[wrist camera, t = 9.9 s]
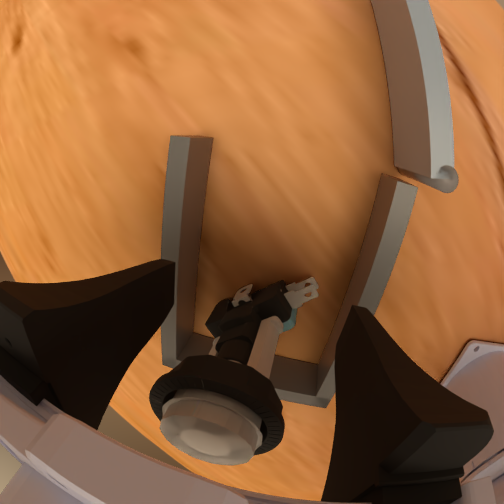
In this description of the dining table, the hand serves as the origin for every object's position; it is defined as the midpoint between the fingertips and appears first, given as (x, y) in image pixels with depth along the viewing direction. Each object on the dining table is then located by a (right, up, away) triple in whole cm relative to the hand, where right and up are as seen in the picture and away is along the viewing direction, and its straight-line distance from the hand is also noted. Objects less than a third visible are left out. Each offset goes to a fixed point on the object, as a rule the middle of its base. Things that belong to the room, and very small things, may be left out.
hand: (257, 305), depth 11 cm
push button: (+1, -1, +6) cm, 6 cm away
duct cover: (+7, +11, 0) cm, 13 cm away
